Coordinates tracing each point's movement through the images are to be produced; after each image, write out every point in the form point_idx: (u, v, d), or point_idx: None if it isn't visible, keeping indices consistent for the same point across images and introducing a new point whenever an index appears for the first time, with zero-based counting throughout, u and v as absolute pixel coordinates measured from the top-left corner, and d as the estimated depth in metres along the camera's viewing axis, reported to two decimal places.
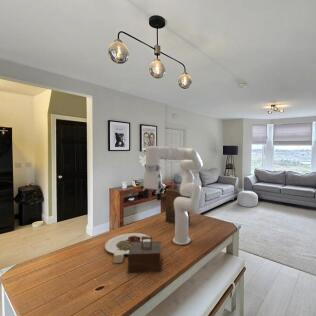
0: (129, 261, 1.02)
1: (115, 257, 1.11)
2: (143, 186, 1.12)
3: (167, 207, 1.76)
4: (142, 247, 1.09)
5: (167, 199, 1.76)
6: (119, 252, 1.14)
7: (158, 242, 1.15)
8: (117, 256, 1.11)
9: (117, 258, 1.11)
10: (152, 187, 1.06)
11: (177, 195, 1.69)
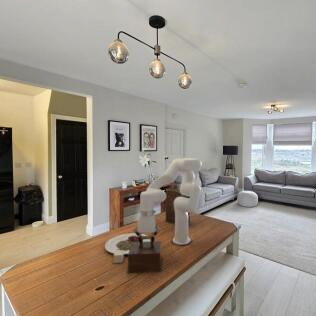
0: (129, 261, 1.02)
1: (115, 257, 1.11)
2: (137, 232, 1.14)
3: (167, 207, 1.76)
4: (142, 247, 1.09)
5: (167, 199, 1.76)
6: (119, 252, 1.14)
7: (158, 242, 1.15)
8: (117, 256, 1.11)
9: (117, 258, 1.11)
10: (149, 231, 1.12)
11: (177, 195, 1.69)
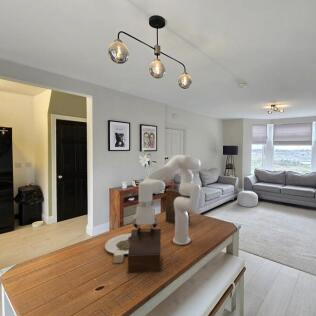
0: (129, 261, 1.02)
1: (115, 257, 1.11)
2: (136, 224, 1.08)
3: (167, 207, 1.76)
4: (142, 242, 1.07)
5: (167, 199, 1.76)
6: (119, 252, 1.14)
7: (158, 232, 1.12)
8: (117, 256, 1.11)
9: (117, 258, 1.11)
10: (148, 223, 1.06)
11: (177, 195, 1.69)
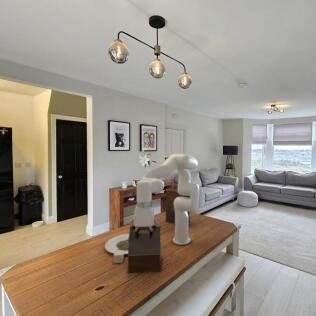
0: (129, 261, 1.02)
1: (115, 257, 1.11)
2: (133, 226, 1.01)
3: (167, 207, 1.76)
4: (141, 241, 1.04)
5: (167, 199, 1.76)
6: (119, 252, 1.14)
7: (158, 230, 1.07)
8: (117, 256, 1.11)
9: (117, 258, 1.11)
10: (147, 224, 1.00)
11: (177, 195, 1.69)
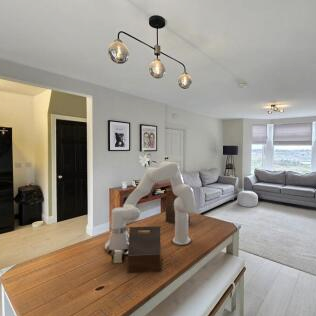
0: (129, 261, 1.02)
1: (115, 257, 1.11)
2: None
3: (167, 207, 1.76)
4: (141, 241, 1.04)
5: (167, 199, 1.76)
6: (119, 252, 1.14)
7: (158, 230, 1.07)
8: (117, 256, 1.11)
9: (117, 258, 1.11)
10: (120, 248, 1.11)
11: None
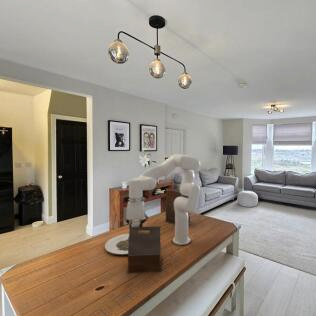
0: (129, 261, 1.02)
1: None
2: None
3: (167, 207, 1.76)
4: (141, 241, 1.04)
5: (167, 199, 1.76)
6: (136, 223, 1.13)
7: (158, 230, 1.07)
8: (135, 226, 1.10)
9: None
10: (138, 218, 1.11)
11: (177, 195, 1.69)
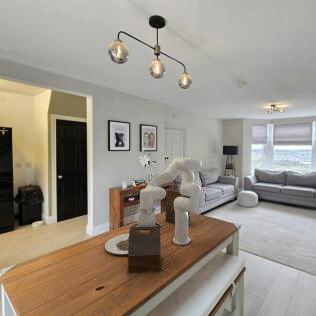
0: (129, 261, 1.02)
1: None
2: None
3: (167, 207, 1.76)
4: (141, 241, 1.04)
5: (167, 199, 1.76)
6: None
7: (158, 230, 1.07)
8: None
9: None
10: None
11: (177, 195, 1.69)
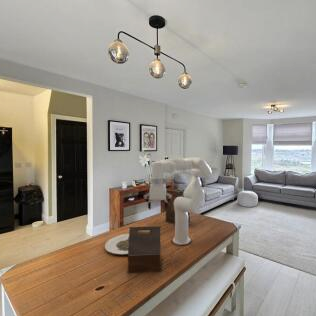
0: (129, 261, 1.02)
1: None
2: None
3: (167, 207, 1.76)
4: (141, 241, 1.04)
5: None
6: None
7: (158, 230, 1.07)
8: None
9: None
10: (160, 198, 1.18)
11: (177, 195, 1.69)
